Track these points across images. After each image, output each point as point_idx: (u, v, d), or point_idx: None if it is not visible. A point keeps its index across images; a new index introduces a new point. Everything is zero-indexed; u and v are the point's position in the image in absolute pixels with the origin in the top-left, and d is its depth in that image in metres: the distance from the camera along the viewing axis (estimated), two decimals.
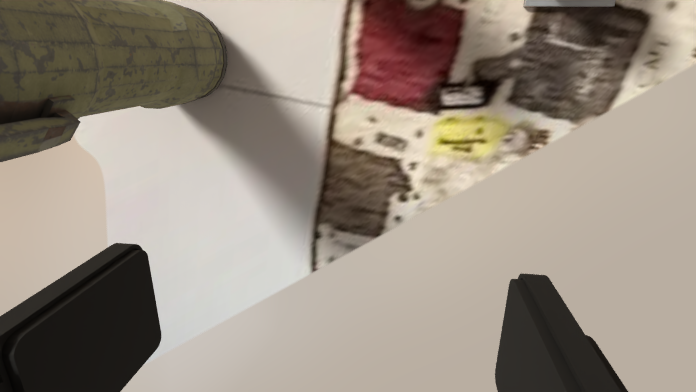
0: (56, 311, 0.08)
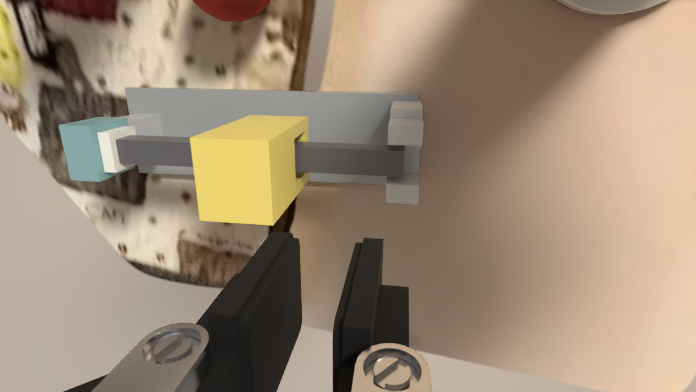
0: (265, 290, 0.08)
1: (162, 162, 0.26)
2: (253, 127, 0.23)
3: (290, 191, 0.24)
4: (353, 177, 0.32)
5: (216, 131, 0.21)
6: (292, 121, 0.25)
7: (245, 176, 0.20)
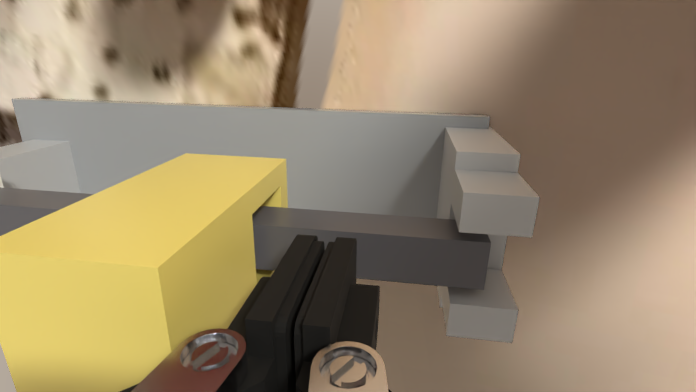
0: (298, 294, 0.08)
1: None
2: (163, 197, 0.11)
3: None
4: None
5: (68, 215, 0.10)
6: (252, 174, 0.13)
7: (110, 341, 0.08)
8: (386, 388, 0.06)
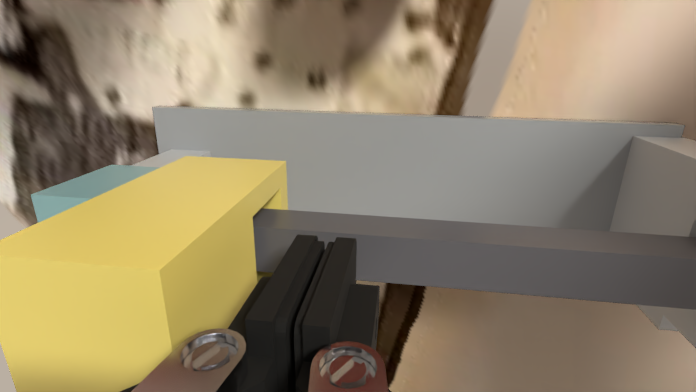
0: (298, 295, 0.08)
1: None
2: (163, 200, 0.11)
3: None
4: None
5: (69, 218, 0.10)
6: (252, 177, 0.13)
7: (112, 344, 0.08)
8: (386, 388, 0.06)
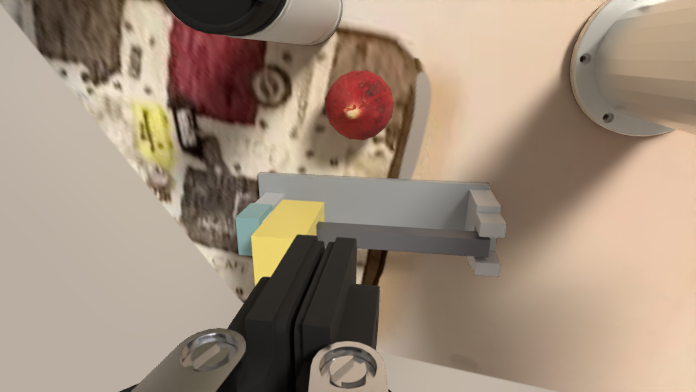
0: (298, 294, 0.08)
1: None
2: (289, 219, 0.33)
3: None
4: None
5: (265, 226, 0.32)
6: (314, 210, 0.35)
7: None
8: (386, 388, 0.06)
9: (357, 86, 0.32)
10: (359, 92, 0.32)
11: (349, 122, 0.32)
